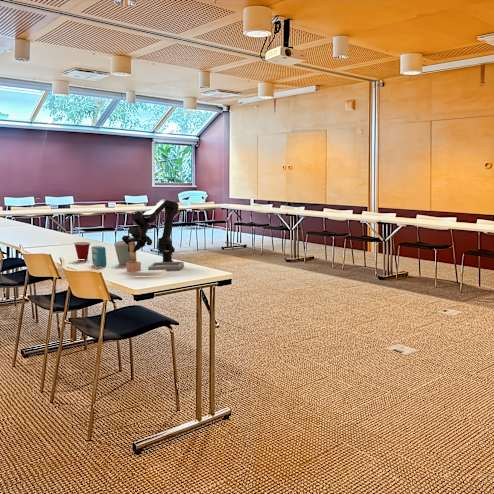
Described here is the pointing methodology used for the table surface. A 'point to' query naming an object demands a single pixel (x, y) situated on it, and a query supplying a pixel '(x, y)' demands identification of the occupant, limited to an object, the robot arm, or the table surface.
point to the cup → (133, 266)
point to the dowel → (132, 254)
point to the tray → (166, 266)
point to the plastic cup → (82, 249)
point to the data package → (99, 255)
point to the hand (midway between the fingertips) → (131, 251)
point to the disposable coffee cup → (122, 252)
